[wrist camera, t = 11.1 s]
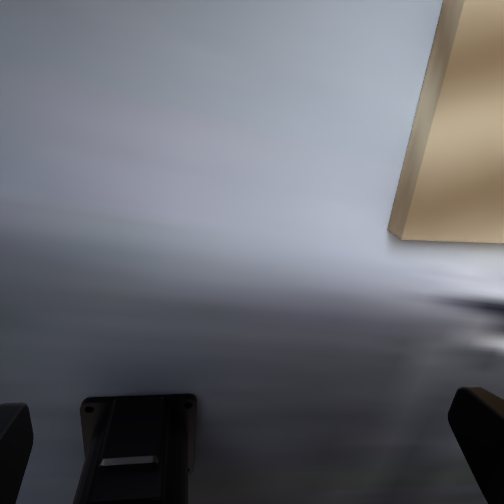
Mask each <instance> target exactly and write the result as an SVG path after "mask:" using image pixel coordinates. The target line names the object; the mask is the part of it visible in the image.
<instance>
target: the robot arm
mask: <svg viewBox="0 0 504 504" xmlns="http://www.w3.org/2000/svg"><path fill="white" fill-rule="evenodd" d="M187 402H190V403H189V404H186V403H187ZM88 406H91V407H92V408H90V407H88ZM196 406H197V404H196V397H195V396H194V395H192V394H175V395H147V396H120V397H93V398H86V399H85V400H84V401H83V402H82V404H81V407H80V415H81V424H82V433H83V442H84V451H85V462H84V466H83V469H82V473H81V476H80V480H79V483H78V487H77V490H76V494H75V497H74V501H73V504H188V475H189V474H191V473H192V472H193V468H194V447H195V426H196ZM448 421H449V424H450V427H451V429H452V431H453V433H454V435H455V437H456V439H457V441H458V443H459V446H460V448H461V450H462V452H463V454H464V456H465V458H466V460H467V462H468V464H469V467H470V469H471V471H472V473H473V475H474V477H475V479H476V481H477V483H478V485H479V487H480V489H481V491H482V493H483V495H484V497H485V499H486V501H487V502H488V504H504V400H503V399H501V398H499V397H498V396H496V395H494V394H492V393H490V392H489V391H487V390H485V389H483V388H481V387H479V386H462V387H460V388H458V389H457V391H456V394H455V396H454V399H453V401H452V404H451V407H450V409H449V412H448ZM32 445H33V430H32V424H31V419H30V413H29V408H28V406H27V404H25V403H5V404H1V405H0V504H15V503H16V500H17V496H18V493H19V490H20V486H21V483H22V480H23V476H24V473H25V470H26V466H27V463H28V459H29V456H30V453H31V449H32Z"/></svg>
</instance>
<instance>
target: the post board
mask: <svg viewBox="0 0 504 504" xmlns="http://www.w3.org/2000/svg"><path fill="white" fill-rule="evenodd" d="M387 230H389V231H390V232H392V233H393V234H394V235H396V236H397V237H399V238H400V239H401V240H425V241H453V242H480V243H504V0H444V1H443V5H442V9H441V13H440V17H439V21H438V25H437V30H436V34H435V38H434V42H433V46H432V50H431V54H430V58H429V62H428V66H427V70H426V74H425V78H424V82H423V86H422V91H421V95H420V99H419V103H418V107H417V111H416V115H415V119H414V123H413V127H412V131H411V135H410V139H409V143H408V148H407V152H406V156H405V160H404V164H403V168H402V172H401V176H400V180H399V184H398V188H397V192H396V196H395V200H394V205H393V209H392V213H391V217H390V221H389V225H388V229H387Z"/></svg>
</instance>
